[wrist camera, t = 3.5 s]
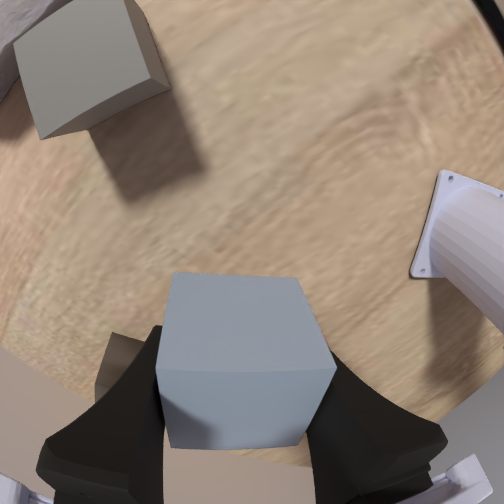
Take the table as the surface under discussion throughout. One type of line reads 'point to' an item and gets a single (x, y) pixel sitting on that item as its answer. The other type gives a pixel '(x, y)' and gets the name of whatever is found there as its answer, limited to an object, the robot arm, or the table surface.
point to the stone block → (19, 32)
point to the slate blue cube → (240, 362)
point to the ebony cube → (115, 362)
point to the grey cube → (88, 65)
